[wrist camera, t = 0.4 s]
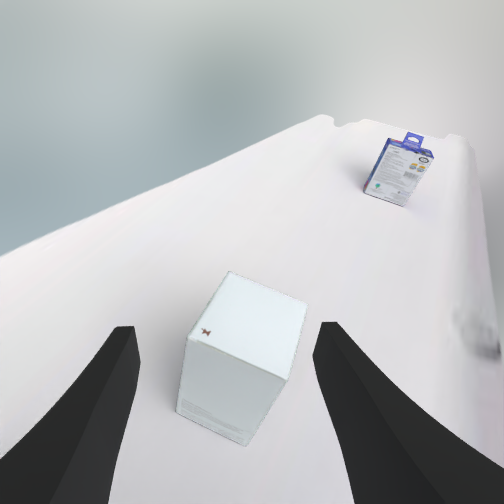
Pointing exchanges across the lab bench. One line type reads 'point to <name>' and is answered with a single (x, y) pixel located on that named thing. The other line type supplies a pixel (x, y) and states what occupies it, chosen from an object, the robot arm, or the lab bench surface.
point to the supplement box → (239, 357)
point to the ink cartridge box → (398, 170)
